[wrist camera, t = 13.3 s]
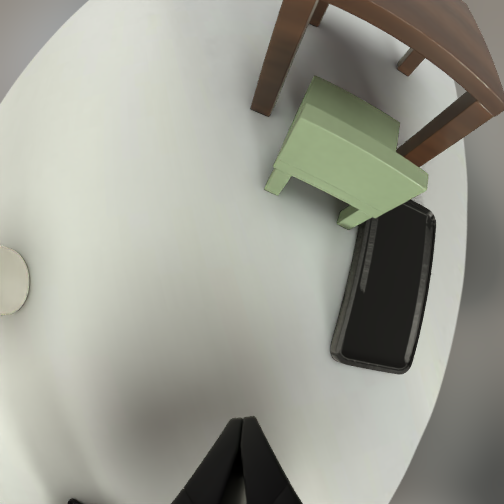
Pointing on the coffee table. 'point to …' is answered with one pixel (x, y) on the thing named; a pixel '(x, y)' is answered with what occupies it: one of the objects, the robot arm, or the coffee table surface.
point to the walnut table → (402, 60)
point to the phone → (386, 290)
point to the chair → (347, 154)
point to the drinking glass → (12, 281)
